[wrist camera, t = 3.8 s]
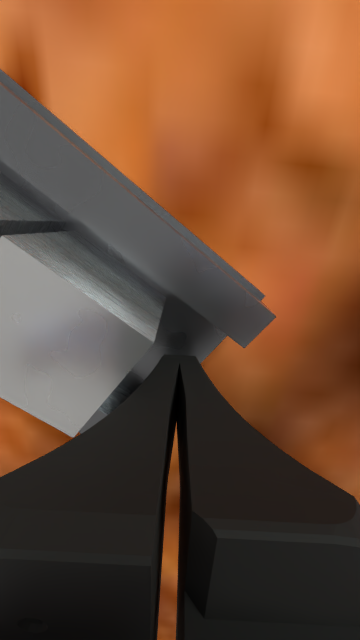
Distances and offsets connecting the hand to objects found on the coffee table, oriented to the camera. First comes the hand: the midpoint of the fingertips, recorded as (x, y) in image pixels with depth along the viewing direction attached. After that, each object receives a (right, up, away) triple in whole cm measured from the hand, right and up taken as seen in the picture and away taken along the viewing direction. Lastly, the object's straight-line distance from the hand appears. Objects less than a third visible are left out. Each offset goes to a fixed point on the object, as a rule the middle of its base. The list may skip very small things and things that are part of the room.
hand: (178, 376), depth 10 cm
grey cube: (-3, +3, 0) cm, 4 cm away
